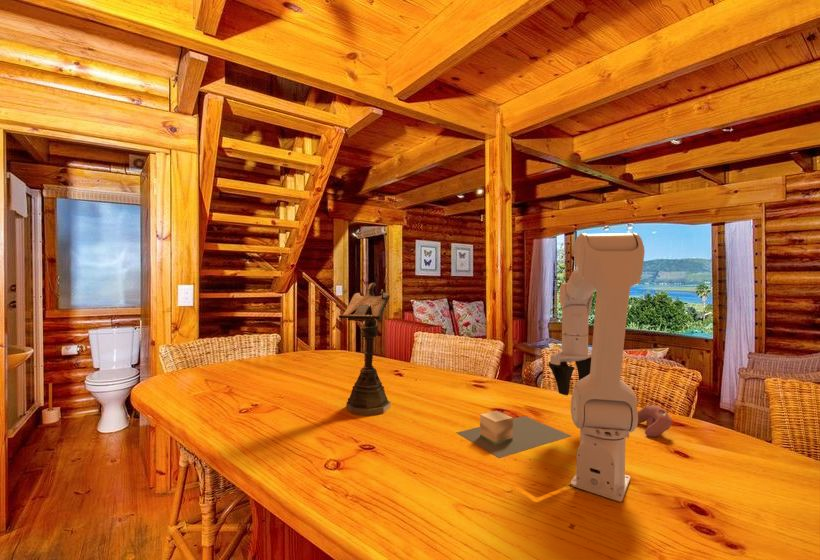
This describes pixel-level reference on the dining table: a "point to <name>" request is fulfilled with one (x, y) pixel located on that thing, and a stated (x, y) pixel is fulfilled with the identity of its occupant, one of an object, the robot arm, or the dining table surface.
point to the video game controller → (654, 420)
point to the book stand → (367, 354)
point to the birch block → (496, 427)
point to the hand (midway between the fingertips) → (574, 391)
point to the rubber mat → (517, 437)
